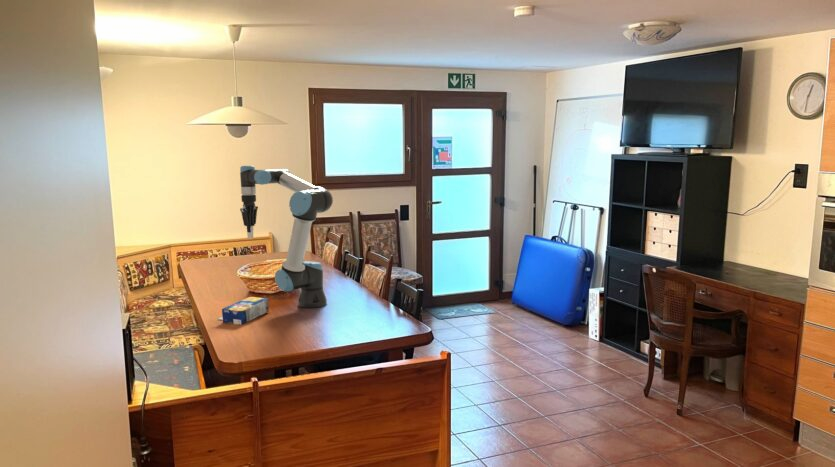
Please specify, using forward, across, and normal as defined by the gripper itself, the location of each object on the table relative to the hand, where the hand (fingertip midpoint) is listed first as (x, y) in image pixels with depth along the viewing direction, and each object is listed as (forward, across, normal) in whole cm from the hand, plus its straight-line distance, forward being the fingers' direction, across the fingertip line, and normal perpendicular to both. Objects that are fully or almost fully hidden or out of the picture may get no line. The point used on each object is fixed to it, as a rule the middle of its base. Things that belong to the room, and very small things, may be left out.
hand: (250, 237), depth 319 cm
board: (+34, +28, +14) cm, 46 cm away
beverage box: (+30, +19, +18) cm, 40 cm away
